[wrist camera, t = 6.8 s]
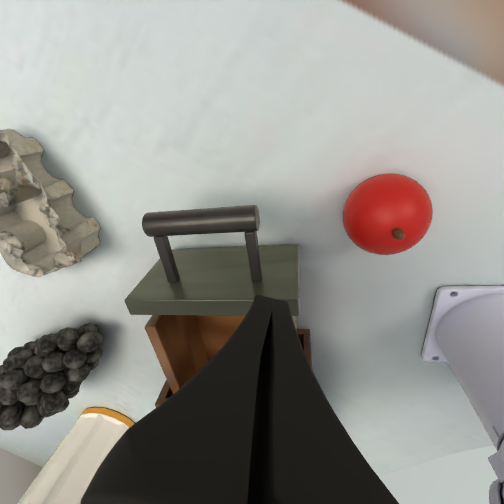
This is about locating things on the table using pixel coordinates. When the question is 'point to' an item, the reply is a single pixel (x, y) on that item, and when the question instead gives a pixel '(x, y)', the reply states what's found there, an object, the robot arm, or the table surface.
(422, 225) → the apple
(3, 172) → the egg carton
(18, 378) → the fruit
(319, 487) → the robot arm
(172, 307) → the drawer
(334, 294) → the table surface
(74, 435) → the cup
